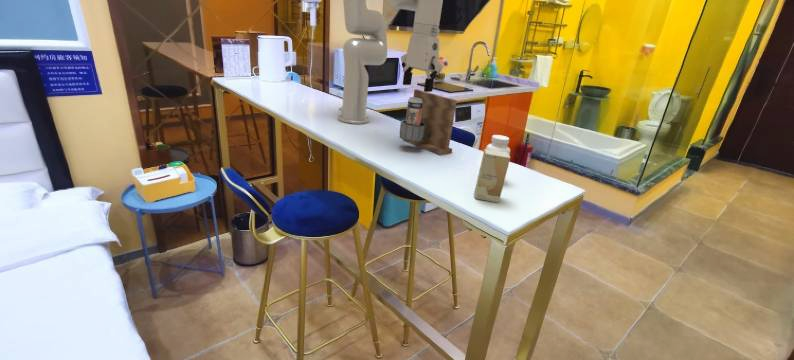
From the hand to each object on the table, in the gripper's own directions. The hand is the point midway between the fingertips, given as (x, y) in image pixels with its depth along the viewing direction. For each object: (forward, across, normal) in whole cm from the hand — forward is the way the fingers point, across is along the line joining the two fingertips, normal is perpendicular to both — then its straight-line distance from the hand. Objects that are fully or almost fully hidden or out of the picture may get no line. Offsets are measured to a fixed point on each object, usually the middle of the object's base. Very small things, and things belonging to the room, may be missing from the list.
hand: (417, 88), depth 122 cm
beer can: (+15, -1, 0) cm, 15 cm away
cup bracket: (+20, -1, -3) cm, 21 cm away
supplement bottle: (+20, -32, -3) cm, 38 cm away
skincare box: (+19, -39, +9) cm, 45 cm away
